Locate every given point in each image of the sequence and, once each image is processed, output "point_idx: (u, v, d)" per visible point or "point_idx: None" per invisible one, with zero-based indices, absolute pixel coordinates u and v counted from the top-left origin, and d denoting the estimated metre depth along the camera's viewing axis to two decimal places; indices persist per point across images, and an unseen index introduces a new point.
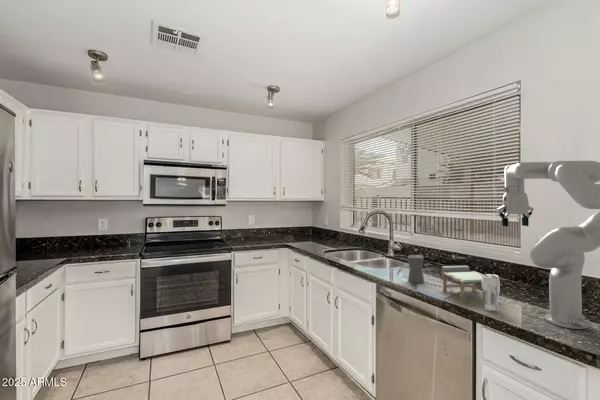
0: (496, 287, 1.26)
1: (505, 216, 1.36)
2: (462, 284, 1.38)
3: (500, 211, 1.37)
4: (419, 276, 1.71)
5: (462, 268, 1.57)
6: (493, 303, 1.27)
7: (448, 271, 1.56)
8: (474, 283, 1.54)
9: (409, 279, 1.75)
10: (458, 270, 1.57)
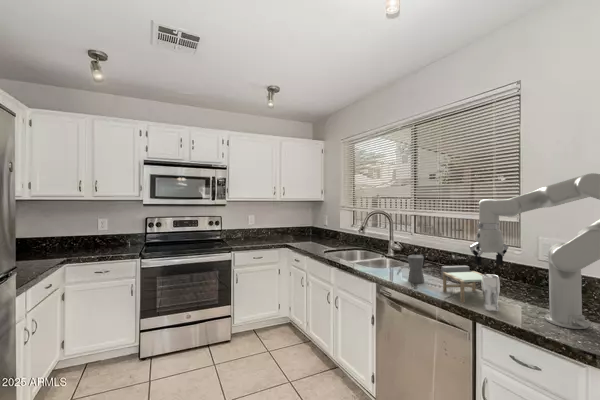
0: (496, 287, 1.26)
1: (478, 254, 1.28)
2: (462, 284, 1.38)
3: (473, 249, 1.29)
4: (419, 276, 1.71)
5: (462, 268, 1.57)
6: (493, 303, 1.27)
7: (448, 271, 1.56)
8: (474, 283, 1.54)
9: (409, 279, 1.75)
10: (458, 270, 1.57)
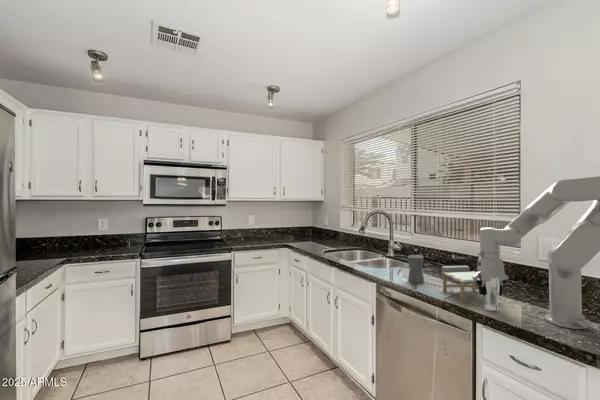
0: (496, 287, 1.26)
1: (482, 285, 1.28)
2: (462, 284, 1.38)
3: (476, 279, 1.29)
4: (419, 276, 1.71)
5: (462, 268, 1.57)
6: (493, 303, 1.27)
7: (448, 271, 1.56)
8: (474, 283, 1.54)
9: (409, 279, 1.75)
10: (458, 270, 1.57)
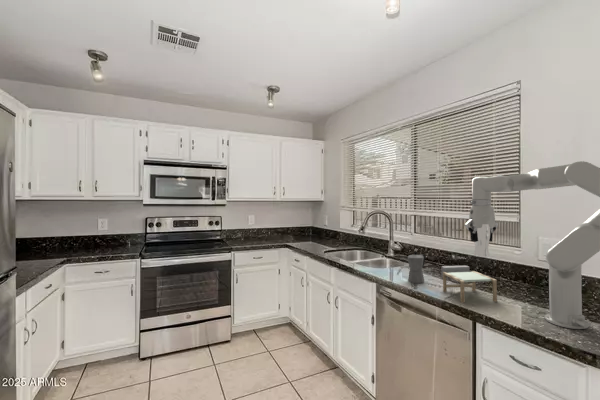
0: (487, 233, 1.32)
1: (473, 231, 1.33)
2: (462, 284, 1.38)
3: (468, 226, 1.34)
4: (419, 276, 1.71)
5: (462, 268, 1.57)
6: (484, 249, 1.33)
7: (448, 271, 1.56)
8: (474, 283, 1.54)
9: (409, 279, 1.75)
10: (458, 270, 1.57)
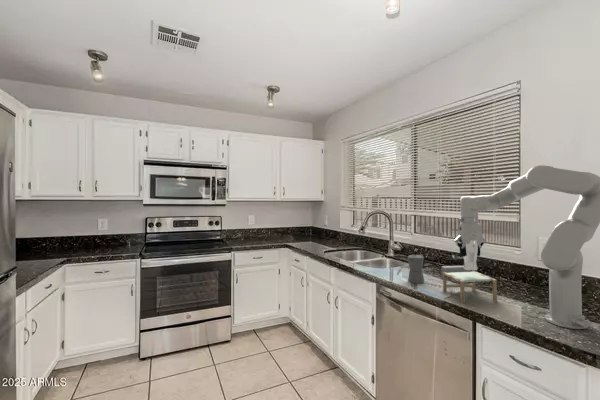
0: (474, 248, 1.41)
1: (462, 247, 1.43)
2: (462, 284, 1.38)
3: (457, 242, 1.44)
4: (419, 276, 1.71)
5: (462, 268, 1.57)
6: (472, 263, 1.42)
7: (448, 271, 1.56)
8: (474, 283, 1.54)
9: (409, 279, 1.75)
10: (458, 270, 1.57)
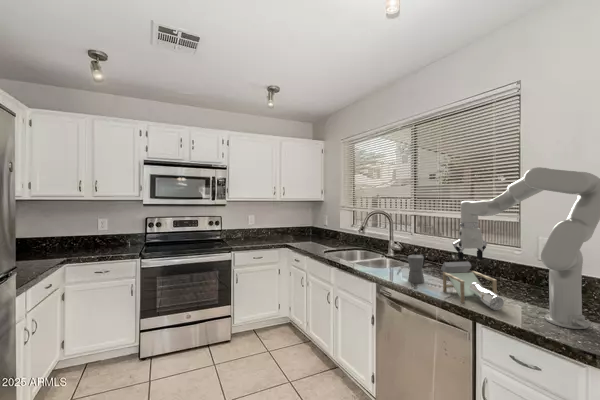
0: None
1: (460, 250, 1.43)
2: (462, 284, 1.38)
3: (456, 245, 1.44)
4: (419, 276, 1.71)
5: (464, 267, 1.55)
6: None
7: (449, 269, 1.56)
8: None
9: (409, 279, 1.75)
10: (459, 268, 1.56)
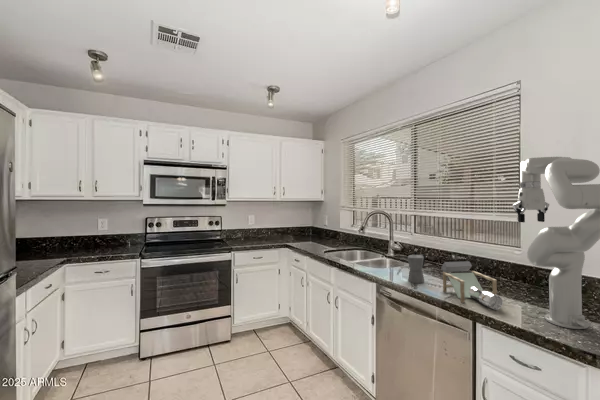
0: None
1: (521, 212, 1.35)
2: (462, 284, 1.38)
3: (516, 207, 1.36)
4: (419, 276, 1.71)
5: (464, 267, 1.55)
6: (477, 299, 1.40)
7: (449, 268, 1.56)
8: None
9: (409, 279, 1.75)
10: (459, 268, 1.56)
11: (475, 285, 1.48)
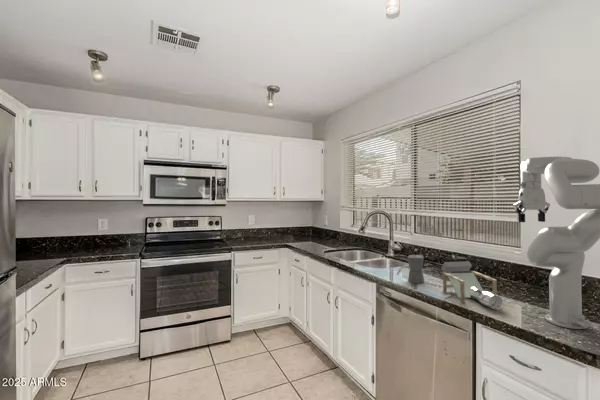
0: None
1: (522, 212, 1.35)
2: (462, 284, 1.38)
3: (517, 207, 1.36)
4: (419, 276, 1.71)
5: (464, 267, 1.55)
6: (477, 299, 1.40)
7: (449, 268, 1.56)
8: None
9: (409, 279, 1.75)
10: (459, 268, 1.56)
11: (475, 285, 1.48)
